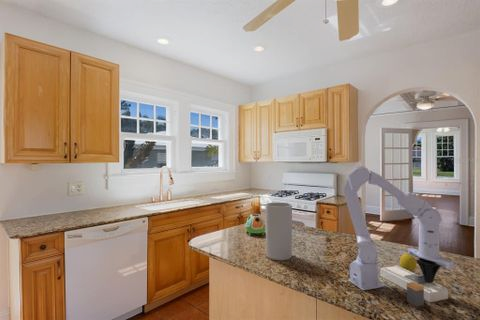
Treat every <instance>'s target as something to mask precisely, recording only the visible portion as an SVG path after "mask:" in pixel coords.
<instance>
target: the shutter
mask: <svg viewBox="0 0 480 320" xmlns="http://www.w3.org/2000/svg"><path fill="white" fill-rule="evenodd" d="M416 274H417V273H415V274H412V275H406V276H404V277H406V278H408V279H410V280H412V281H414V282H416V283H418V284H420V283H426V282H425V280H424V276H423V273H421V274H420V273H419V274H417V275H416Z"/></svg>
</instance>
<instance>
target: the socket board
mask: <svg viewBox="0 0 480 320" xmlns="http://www.w3.org/2000/svg"><path fill="white" fill-rule="evenodd" d="M379 273H380V274H379V275H380V277H382V278H384V279H386V280H387V281H389V282H391V283H393V284H395V285H397V286H398V285H399V287H400V288H402V289H404V290H406V291H407V283H410V282H414V281H412V280H410V279H408V278H406V277H404V276H406V275H412V274H416V275H418V274H417V273H414V271H412V272H410V271H408V270H406V269H404V268H402V267H401V266H399V265H398V264H395V265H394V266H388V267H387V266H386V267H385V266H382V267H381V268H380V271H379ZM420 285H422V286H424V301H426V302H428V303H433V302H439V301H443V300H448V299H449V289H447V288H446V287H445V286H443V285H441V284H439V283H438V282H437V283H436V282H435V281H433V283H427V282H426V283H420Z"/></svg>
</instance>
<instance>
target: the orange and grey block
mask: <svg viewBox="0 0 480 320" xmlns="http://www.w3.org/2000/svg"><path fill="white" fill-rule="evenodd" d="M424 301H425V299H424V286H422V285H420V284H418V283H416V282H410V283H407V290H406V302H408V303H409V304H411V305H412V306H413V307H422V306H425V302H424Z"/></svg>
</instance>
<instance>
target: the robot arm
mask: <svg viewBox="0 0 480 320" xmlns="http://www.w3.org/2000/svg"><path fill="white" fill-rule="evenodd" d="M367 182H368V185H375V186H378V187H379V188H381V189H383V190H384V191H385V192H387V193H389V195H391V196H393V197H395V198H396V200H397V201H396V202H397V205H399V206H400V207H402V208H403V209H405V210H406V211H407V212H408V213H410V214H412V216H414V217H415V216H416V217H417V218H418V219H419V220H418V221H419V222H418V225H419V227H418V249H417V248H413V247H408V248H407V253H408V254H409V255H411V256H415V257H418V258H419V259H416V264H417V265H418V266H419V268H420V270H421V274H423V276H424V280H425V282H427V283H433V282H434V279H435V276H436V274H437V272H438V271H439V270H440V269H441V267H444V268H445V269H447V270H453V269H454V267H455V266H454V265H455V263H454V262H452V261H450V260H447V259H446V258H444V257H443V256H440V224H441V222H442V220H443V218H442V217H441V216H442V215H441V214H440V212H439V211H438V210H436V209H435V208H433V207H432V206H431V204H430V203H428V202H425V201H423V200H422V199H421V198H419V197H417V196H418V195H417V193H415V192H411V191H402V190H401V189H400V188H398V187H397V186H396V185H394V184H393V183H391V182H390V181H389V180H387V179H386V178H385V177H383V176H381V174H379V173H376V172H375V171H373V170H371V169H368V168H366V166H364V165H363V166H362V165H359V166H356V167H354V168H353V169H352V170H351V171H350V172H349V174H348V175H347V179H346V181H345V184H344V187H343V189H342V190H343V192H342V193H343V195H344V198H345V202H346V205H347V208H348V211H349V217H350V219H351V222H352V225H353V229H354V232H355V235H356V242H357V246H358V250H357V254H358V255H357V256H356V259H355V260H354V261H351V262H350V263H349V278H348V282H350V283H351V284H353V285H354V286H356V287H357V288H359V289H361V290H362V291H368V290H373V289H380V288H385V285H384V284H383V283H380V282H379V259H378V251H377V245H376V243H375V242H374V240H372V237H371V233H370V231H369V228H368V226H367V221H366V218H365V214H364V212H363V208H362V205H361V201H360V199H359V195H358V192H359V190H360V188H362V186H363V185H365V184H366V183H367Z"/></svg>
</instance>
